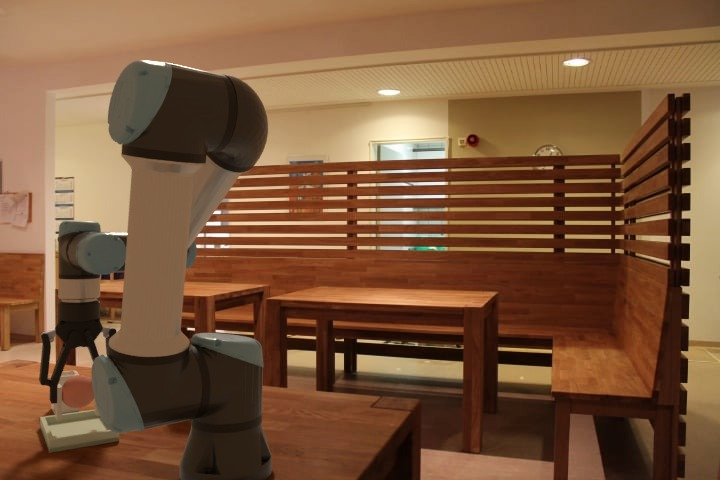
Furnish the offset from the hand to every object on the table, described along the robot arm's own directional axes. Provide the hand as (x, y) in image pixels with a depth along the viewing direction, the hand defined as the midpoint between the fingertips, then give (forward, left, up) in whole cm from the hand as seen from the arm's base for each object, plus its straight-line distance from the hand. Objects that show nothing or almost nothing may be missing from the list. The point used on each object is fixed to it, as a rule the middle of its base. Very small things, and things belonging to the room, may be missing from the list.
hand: (78, 416), depth 120 cm
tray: (0, 0, -4) cm, 4 cm away
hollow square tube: (+19, 0, -4) cm, 19 cm away
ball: (0, 0, +5) cm, 5 cm away
